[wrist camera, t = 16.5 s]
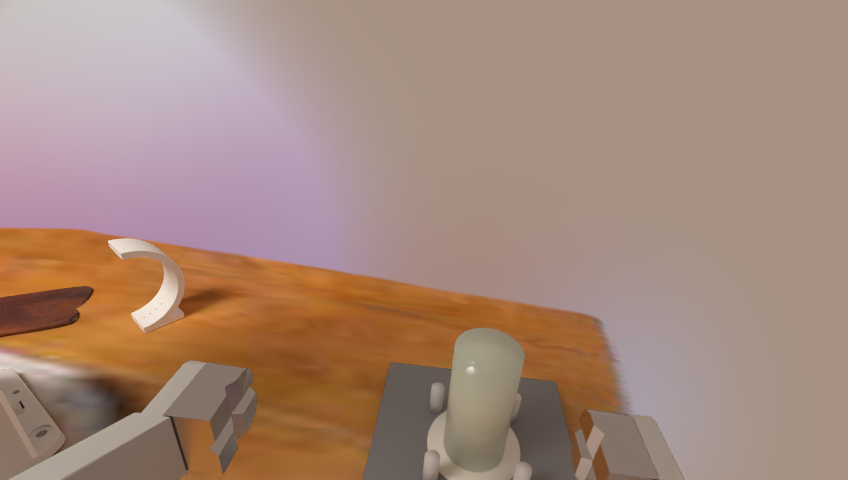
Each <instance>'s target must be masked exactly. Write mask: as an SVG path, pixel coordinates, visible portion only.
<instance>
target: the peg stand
mask: <svg viewBox="0 0 848 480" xmlns="http://www.w3.org/2000/svg"><path fill="white" fill-rule="evenodd" d="M451 372H452V369H444V368H436V367H427V366H419V365H410V364H402V363H393V362H391V363H390V367H389V371H388V375H387V380H386V384H385V388H384V392H383V396H382V401H381V405H380V409H379V413H378V418H377V422H376V426H375V430H374V435H373V439H372V443H371V447H370V452H369V456H368V460H367V464H366V468H365V473H364V477H363V480H579V479H578V478H577V477H576V476H575V474H574V469H573V465H572V457H571V450H572V443H571V439H570V435H569V432H568V428H567V424H566V420H565V416H564V412H563V408H562V404H561V400H560V397H559V393H558V389H557V385H556V382H555V381H546V380H538V379H529V378H520V382H519V387H518V391H517V396H516V400H515V405H514V409H513V414H512V418H511V423H510V427H509V432H508V436H507V441H506V445H505V450H504V454H503V458H502V460H501V462H500V463H499V464H498V465H497V466H496V467H495V468H493V469H492V470H489V471H486V472H481V473H476V472H470V471H467V470H464V469H462V468H460V467H458V466H457V465H456V464H454V463H453V462H452V461H451V460H450V458H449V457H448V455H447V454H446V451H445V449H444V444H443V439H444V430H445V422H446V414H447V405H448V397H449V388H450V380H451Z"/></svg>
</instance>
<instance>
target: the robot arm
mask: <svg viewBox="0 0 848 480" xmlns="http://www.w3.org/2000/svg"><path fill="white" fill-rule="evenodd" d="M252 381H253V375H252V370H251V369H248V368H242V367H235V366H228V365H222V364H215V363H207V362H200V361H193V360H190V361H188V362H186V363H184V364H183V365H182V366H181V367H180V368H179V370H178V371H177V372H176V373H175V374H174V375H173V376H172V378H171V379H170V380H169V381H168V382H167V383H166V385H165V386H164V387H163V388H162V389H161V390H160V392H159V393H158V394H157V395H156V396H155V397H154V398H153V400H152V401H151V402H150V403H149V404H148V405H147V407H146V408H145V409H144V410H143V411H142V412H141V413H133V414H131V415H129V416H127V417H125V418H123V419H122V420H120V421H118V422H116V423H114V424H112V425H110V426H108V427H107V428H105V429H103V430H101V431H99V432H97V433H95V434H93V435H91V436H90V437H88V438H86V439H84V440H82V441H80V442H78V443H76V444H75V445H73V446H71V447H69V448H67V449H65V450H63V451H61V452H59V453H58V454H56V455H54V456H52V455H53V454H54V453H55V452H56V451H57V450H58V449H59V448H60V447H61V446H62V445H63V444H64V442H65V436H64V434H63V433H62V432H61V430H60V429H59V428H58V426H57V425H56V424H55V422H54V421H53V420H52V418H51V417H50V416H49V414H48V413H47V412H46V410H45V409H44V408H43V407H42V405H41V404H40V403H39V401H38V400H37V399H36V397H35V396H34V395H33V393H32V392H31V391H30V389H29V388H28V387H27V385H26V384H25V383H24V382H23V380H22V379H21V378H20V376H19V375H18V374H17V372H16V371H15V370H13V369H1V370H0V480H179V479H181V478H182V477H183V476H184V475H186V474H187V471H191V472H201V473H210V474H220V475H223V474H224V472H225V470H226V469H227V467H228V465H229V463H230V461H231V460H232V458H233V456H234V454H235V452H236V451H237V449H238V448H237V443H236V439H237V438H239V437H240V436H242V435H243V434H245V433H246V432H247V431H248V429H249V427H250V425H251V423H252V421H253V418H254V414H255V411H256V403H257V398H256V393H255V391H254V390H253V389H252V388H251V387H250V385H251V383H252ZM580 424H581V428H582V429H580V430H579V431H577V432H575V434H574V437H573V441H572V450H571V457H572V465H573V469H574V474H575V476H576V477H577V478H578V479H579V480H685V479H684V477H683V475H682V473H681V471H680V469H679V467H678V465H677V463H676V461H675V459H674V457H673V455H672V453H671V451H670V449H669V447H668V445H667V443H666V441H665V439H664V437H663V435H662V433H661V431H660V429H659V427H658V425H657V423H656V421H655V420H654V419H653V418H652V417H647V416H639V415H630V414H629V415H627V414H623V413H614V412H605V411H596V410H587V409H585V410H584V411H583V412H582V414H581V417H580ZM51 456H52V457H51Z"/></svg>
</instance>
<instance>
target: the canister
mask: <svg viewBox="0 0 848 480" xmlns="http://www.w3.org/2000/svg"><path fill="white" fill-rule="evenodd" d="M524 360H525V354H524V351H523V348H522V347H521V345H520V344H519V343H518V342H517V341H516V340H515V339H514V338H513V337H511V336H510V335H508V334H506V333H504V332H502V331H499V330H496V329H491V328H474V329H470V330H467V331H465V332H463V333H462V334H461V335H460V336H459V337H458V338H457V339H456V342H455V347H454V355H453V363H452V372H451V380H450V388H449V397H448V405H447V414H446V422H445V430H444V439H443V444H444V449H445V451H446V454H447V455H448V457H449V458H450V460H451V461H452V462H453V463H454V464H456V465H457V466H458V467H460V468H462V469H464V470H467V471H470V472H476V473H481V472H486V471H489V470H492V469H493V468H495V467H496V466H497V465H498V464H499V463H500V462H501V460H502V458H503V454H504V450H505V445H506V441H507V436H508V432H509V427H510V423H511V418H512V414H513V409H514V405H515V400H516V396H517V391H518V387H519V382H520V378H521V373H522V369H523V364H524Z"/></svg>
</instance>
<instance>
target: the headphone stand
mask: <svg viewBox="0 0 848 480" xmlns="http://www.w3.org/2000/svg"><path fill="white" fill-rule="evenodd" d="M108 243H109V246H110V248H111V249H112V250H113V251H114V252H115V253H116V254H117V255H118V256H119V257H120V258H121V259H122V260H124V259H128V258H134V257H147V258H153V259H157V260H159V261H161V263H162V265H163V268H164V280H163V284H162V286H161V289H160V290H159V292H158V293H157V295H156V296H155V297H154V298H153V299H152V300H151V301H150V302H149V303H148V304H147V305H145V306H144V307H142V308H141V309H139V310H137V311H135V312H133V313H131V316H132V318H133V320H134V321H135V322H136V323H137V324H138V326H139V327H140V328H141V329H142V330H143V331H144V333H147V332H149V331H152V330H154V329H157V328H159V327H161V326H164V325H166V324H169V323H171V322H173V321H176V320H178V319H181V318H183V317H185V316H184V312H183V311H182V310H181V309H180V308H179V307H178V306H179V304H180V302H181V300H182V297H183V294H184V288H185V282H184V277H183V274H182V271H181V270H180V268H179V266H178V265H177V264H176V263H175V262H174V261H173V260H171V259H170V258H169V257H168V256H167V255H166V254H164V253H163V252H162V251H161V250H160V249H158V248H157V247H156V246H154V245H152V244H150V243H148V242H145V241H142V240H137V239H115V240H110V241H108Z"/></svg>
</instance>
